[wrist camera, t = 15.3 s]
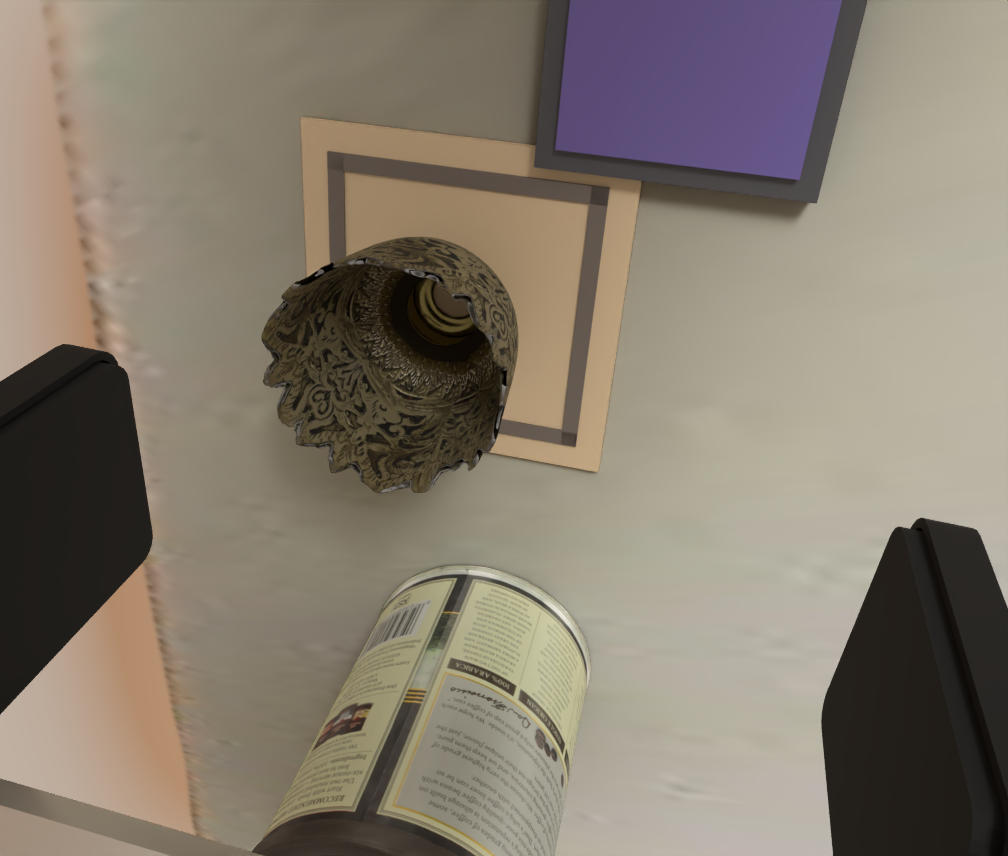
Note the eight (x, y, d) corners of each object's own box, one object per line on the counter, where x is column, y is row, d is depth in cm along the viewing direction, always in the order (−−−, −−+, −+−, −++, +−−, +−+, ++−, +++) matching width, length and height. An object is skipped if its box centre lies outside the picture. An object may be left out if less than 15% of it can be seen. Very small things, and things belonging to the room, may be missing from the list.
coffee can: (532, 765, 43) (453, 1076, 31) (349, 666, 43) (199, 943, 31) (636, 636, 38) (590, 952, 26) (429, 523, 38) (285, 789, 26)
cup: (421, 412, 35) (343, 523, 28) (323, 247, 32) (212, 324, 26) (589, 345, 32) (547, 451, 25) (494, 157, 29) (419, 218, 23)
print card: (304, 116, 31) (299, 118, 30) (645, 158, 29) (644, 161, 28) (315, 416, 36) (311, 420, 36) (599, 468, 34) (597, 473, 34)
